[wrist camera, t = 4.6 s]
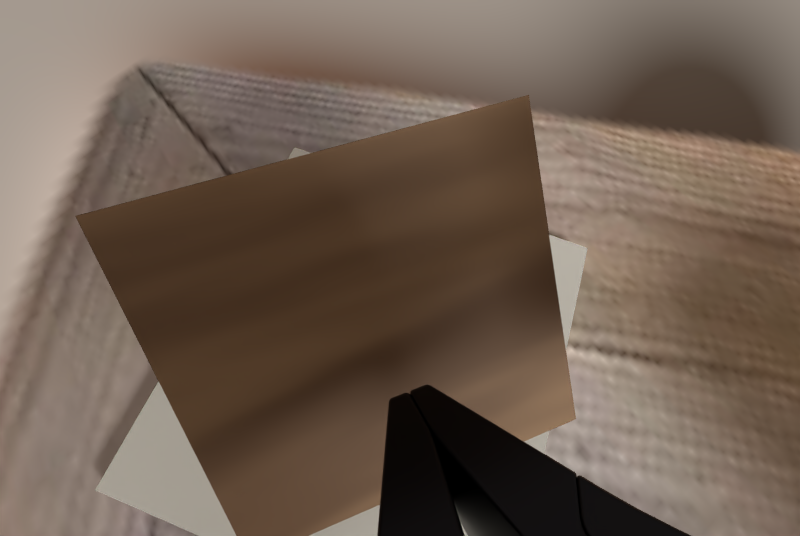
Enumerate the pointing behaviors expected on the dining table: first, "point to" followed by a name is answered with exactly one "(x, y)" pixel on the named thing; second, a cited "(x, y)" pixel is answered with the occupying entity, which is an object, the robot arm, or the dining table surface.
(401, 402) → the robot arm
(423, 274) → the walnut slab
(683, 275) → the dining table surface
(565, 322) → the felt mat
